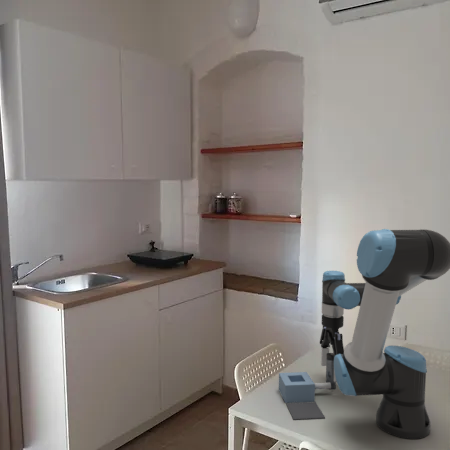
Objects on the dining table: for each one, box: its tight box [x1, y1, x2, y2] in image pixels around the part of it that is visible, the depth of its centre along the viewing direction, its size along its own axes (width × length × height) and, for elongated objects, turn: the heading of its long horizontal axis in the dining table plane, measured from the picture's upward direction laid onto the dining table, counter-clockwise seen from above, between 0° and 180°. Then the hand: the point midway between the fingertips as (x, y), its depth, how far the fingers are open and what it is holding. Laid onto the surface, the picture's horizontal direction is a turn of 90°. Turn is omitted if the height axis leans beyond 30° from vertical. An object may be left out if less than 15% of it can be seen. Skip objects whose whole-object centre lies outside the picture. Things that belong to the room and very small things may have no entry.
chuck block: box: [278, 371, 331, 404], centre depth 155 cm, size 10×17×6 cm, turn 96°
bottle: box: [325, 352, 337, 391], centre depth 160 cm, size 4×4×12 cm
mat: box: [285, 401, 326, 421], centre depth 144 cm, size 10×10×1 cm
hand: (331, 373), depth 160 cm, fingers open, 13 cm apart
